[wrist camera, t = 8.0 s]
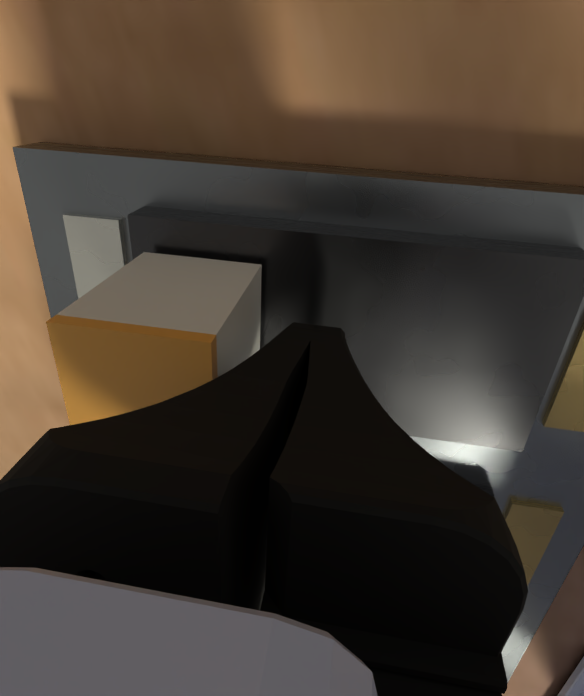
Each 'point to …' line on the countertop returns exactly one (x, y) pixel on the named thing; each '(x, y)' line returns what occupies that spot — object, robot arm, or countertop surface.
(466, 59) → the countertop surface
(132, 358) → the block
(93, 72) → the countertop surface
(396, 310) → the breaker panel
